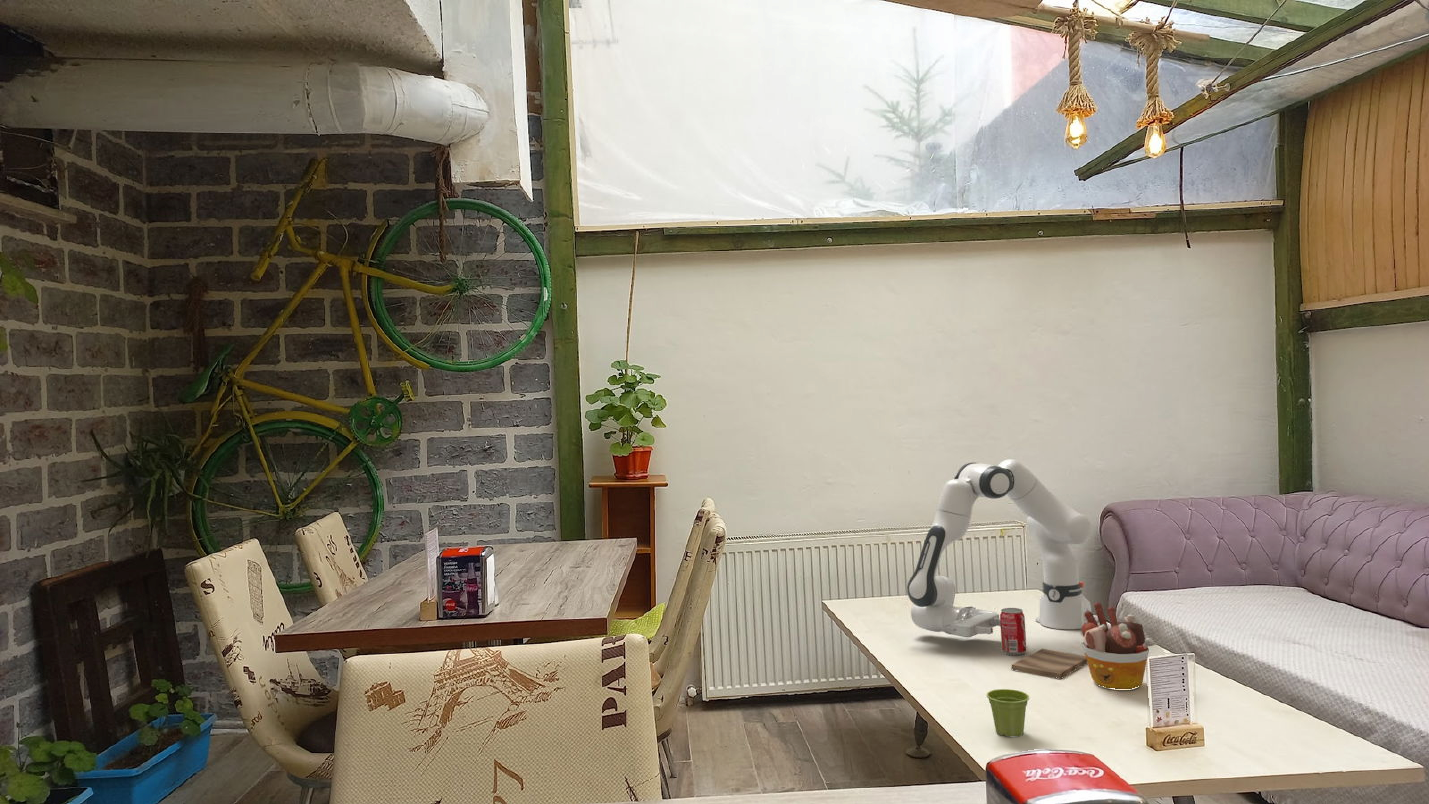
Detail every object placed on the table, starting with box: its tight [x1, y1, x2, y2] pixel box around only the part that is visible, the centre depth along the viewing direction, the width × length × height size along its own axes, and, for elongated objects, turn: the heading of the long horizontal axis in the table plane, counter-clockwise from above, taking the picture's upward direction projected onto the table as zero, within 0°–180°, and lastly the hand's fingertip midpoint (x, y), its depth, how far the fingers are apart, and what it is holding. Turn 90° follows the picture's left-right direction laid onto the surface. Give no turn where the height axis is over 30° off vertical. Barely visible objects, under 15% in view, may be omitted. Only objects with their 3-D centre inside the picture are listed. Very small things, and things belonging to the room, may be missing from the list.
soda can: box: [999, 607, 1028, 656], centre depth 262 cm, size 7×7×13 cm
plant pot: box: [986, 688, 1030, 737], centre depth 200 cm, size 9×9×9 cm
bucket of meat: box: [1081, 601, 1156, 689], centre depth 230 cm, size 20×16×20 cm
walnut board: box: [1011, 648, 1088, 679], centre depth 248 cm, size 20×14×2 cm
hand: (999, 627), depth 265 cm, fingers open, 8 cm apart
